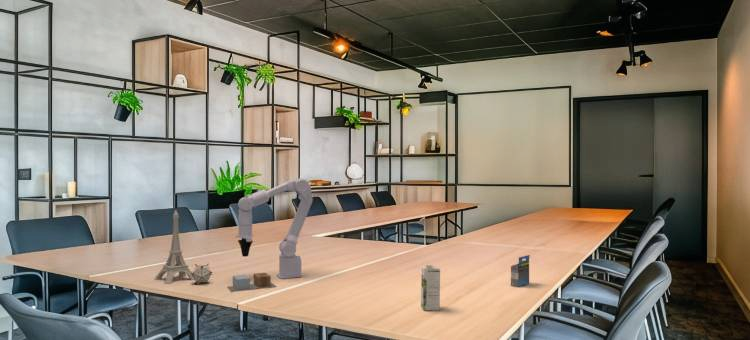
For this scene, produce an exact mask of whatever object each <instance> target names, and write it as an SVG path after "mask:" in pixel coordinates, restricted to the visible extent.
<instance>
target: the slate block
mask: <svg viewBox="0 0 750 340" xmlns="http://www.w3.org/2000/svg"><path fill="white" fill-rule="evenodd" d="M250 280H251V278H250V277H249V276H248V275H246V274H238V275H237V274H235V275H232V286H234V287H235V288H236V289H237V290H239V289H248V288H250V284H251V283H250Z"/></svg>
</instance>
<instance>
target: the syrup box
mask: <svg viewBox="0 0 750 340" xmlns="http://www.w3.org/2000/svg"><path fill="white" fill-rule="evenodd" d="M420 279H421V282H420V283H421V284H420V285H421V286H420V287H421V288H420V307H421V308H422V310H423V311H424V310H432V311H440V304H441V303H440V302H441V301H440V300H441V269H440V267H439V266H437V265H433V264H432V265H431V264H426V265H421V278H420Z"/></svg>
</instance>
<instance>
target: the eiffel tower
mask: <svg viewBox="0 0 750 340" xmlns="http://www.w3.org/2000/svg"><path fill="white" fill-rule="evenodd" d="M172 219H173V225H172V226H173V227H172V239H171V246H170V250H169V251H168V252H169V255H168V258H167V260H166V262H165V264H163V265H162V268H161V269H160V271H159V272H158V273H157V275H156V276H155V277H154V278H153V280H155V281H159V280H163V279H164V278H163V277H164V275H165V274H166V278H165V280H164V282H163V284H165V285H170V284H173V279H174V276H175V275H176V273H178V276H179V277H184V276H185V277H186V276H188V280H190V281H195V279H194V277H193V276H191V275H193V274H191V273H193V271H191V270H190V268H189V264H187V263H186V261H185V259H184V257H183V254H182V253H183V250H181V241H180V235H179V219H180V216H179V213H178V210H176V209H175V210H174V213H173V214H172Z"/></svg>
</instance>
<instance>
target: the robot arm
mask: <svg viewBox="0 0 750 340" xmlns="http://www.w3.org/2000/svg"><path fill="white" fill-rule="evenodd" d="M286 191H289V192H295V193H296V194H297V196H298V197H299V201H300V202H299V204H298V207H297V210H296V213H295V215H294V217H293V219H292V222H291V224H290V227H289V229H288V232H287V233H286V235H285V237H284V239H283V240H282V241H281V242H280V243H279V246H278V248H279V251H280V254H279V256H278V257H279V258H278V259H279V260H278V261H279V262H278V264H279V265H278V266H279V267H278V268H279V269H278V270H279V272H278V273H277V274H276V277H278V278H280V279H282V280H283V279H291V278H301V277H302V276H303V275H302V257H301V256H300V255H297V254H296V252H297V244H298V240H299V239H298V238H299V236H300V233H301V231H302V228H303V226H304V224H305V221H306V218H307V216H308V213H309V211H310V208H311V206H312V204H313V201H314V199H313V194H312V186H311V184H310V183H309V181H308V180H307V179H305V178H300V177H299V178H297V177H296V178H295V179H291V180H289V181H285V182H282V183H281V184H279V185H278V186H273V188H270V189H268V190H266V189H257V191H256V192H253V193H251V194H250V193H249V194H247V195H246V196H244V197H242V198H241V197H240V199H239V200H238V203H237V205H238V208H239V209H238V235H237V234H236V235H235V238H240V239H238V240H237V243H238V244H239V246H240V250H241V251H240V252H241V255H242V257H244V258H245V257H249V255H250V248H251V247H252V244H253V243H254V241H253V240H252V238H253V214H252V211H253V207H254V208H256V207H258V206H261V205H263V204H265V203H267V202H269V200H270V198H271V197H275V196H276V195H280V194H282V193H284V192H286Z"/></svg>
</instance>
